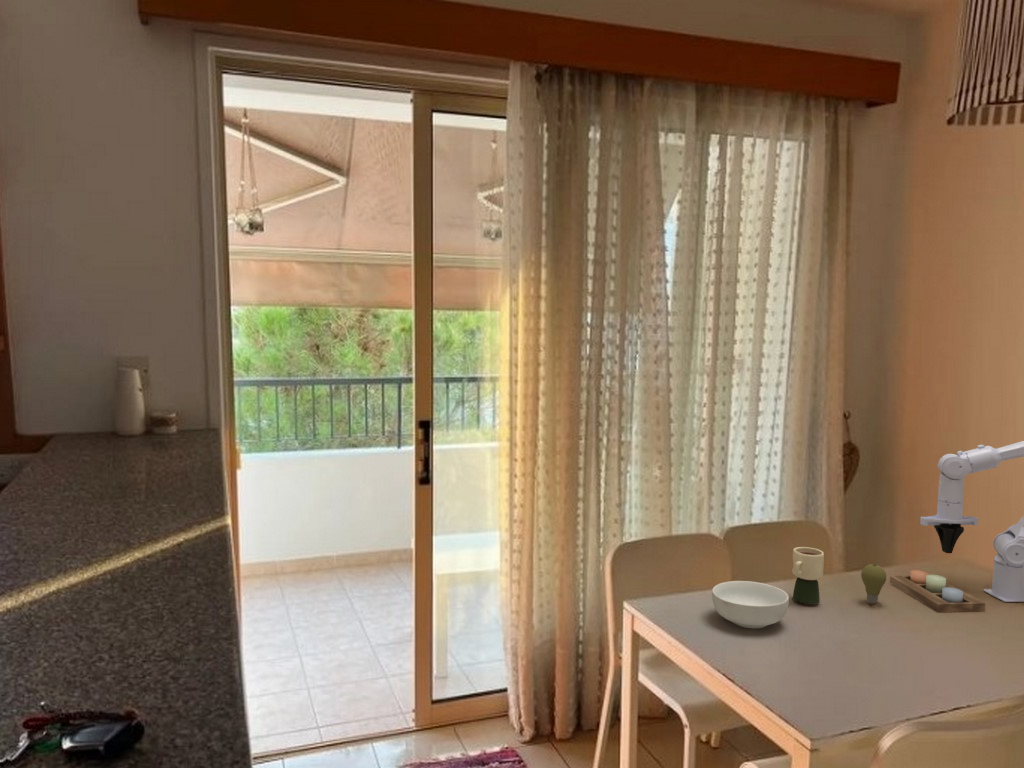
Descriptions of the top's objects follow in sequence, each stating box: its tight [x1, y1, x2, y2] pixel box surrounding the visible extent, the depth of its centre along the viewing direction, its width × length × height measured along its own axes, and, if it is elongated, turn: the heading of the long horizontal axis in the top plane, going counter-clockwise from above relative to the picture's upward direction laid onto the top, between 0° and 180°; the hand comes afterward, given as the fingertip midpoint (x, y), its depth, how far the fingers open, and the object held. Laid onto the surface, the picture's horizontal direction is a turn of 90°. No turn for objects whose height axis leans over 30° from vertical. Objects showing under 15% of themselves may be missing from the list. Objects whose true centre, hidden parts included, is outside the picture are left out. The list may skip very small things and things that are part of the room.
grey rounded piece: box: [942, 587, 964, 603], centre depth 187 cm, size 4×4×4 cm
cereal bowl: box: [711, 580, 790, 629], centre depth 176 cm, size 17×17×7 cm
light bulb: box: [860, 563, 887, 606], centre depth 188 cm, size 6×6×10 cm
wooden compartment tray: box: [889, 575, 986, 613], centre depth 193 cm, size 12×20×2 cm, turn 5°
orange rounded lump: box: [909, 569, 931, 584], centre depth 200 cm, size 4×4×4 cm
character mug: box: [791, 546, 825, 605], centre depth 188 cm, size 11×7×13 cm, turn 129°
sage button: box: [926, 574, 947, 593], centre depth 193 cm, size 4×4×4 cm
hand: (947, 552), depth 198 cm, fingers closed
